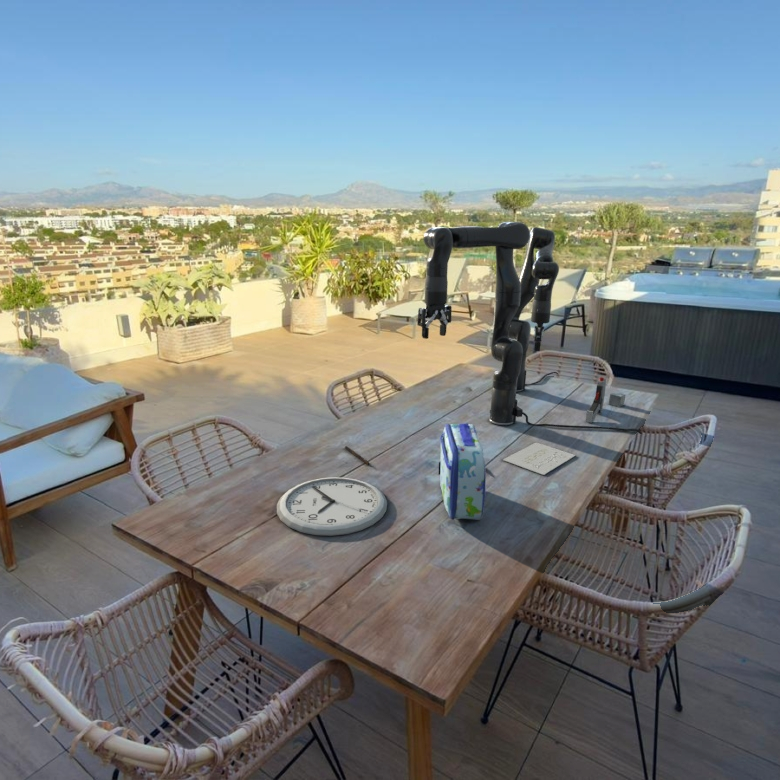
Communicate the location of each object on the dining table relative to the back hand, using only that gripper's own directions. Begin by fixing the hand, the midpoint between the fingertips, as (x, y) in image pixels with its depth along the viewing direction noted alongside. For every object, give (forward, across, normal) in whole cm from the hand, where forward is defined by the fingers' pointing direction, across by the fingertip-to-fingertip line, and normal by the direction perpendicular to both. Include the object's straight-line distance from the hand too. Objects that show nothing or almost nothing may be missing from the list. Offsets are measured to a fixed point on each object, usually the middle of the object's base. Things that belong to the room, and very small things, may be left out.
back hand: (537, 348), depth 223 cm
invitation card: (+24, -60, -5) cm, 65 cm away
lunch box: (+24, -98, +15) cm, 102 cm away
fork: (+24, -71, +14) cm, 77 cm away
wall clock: (+24, -110, +48) cm, 123 cm away
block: (+24, +9, -36) cm, 44 cm away
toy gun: (+24, -12, -25) cm, 37 cm away
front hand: (-13, -53, +34) cm, 64 cm away
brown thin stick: (+24, -79, +53) cm, 98 cm away
